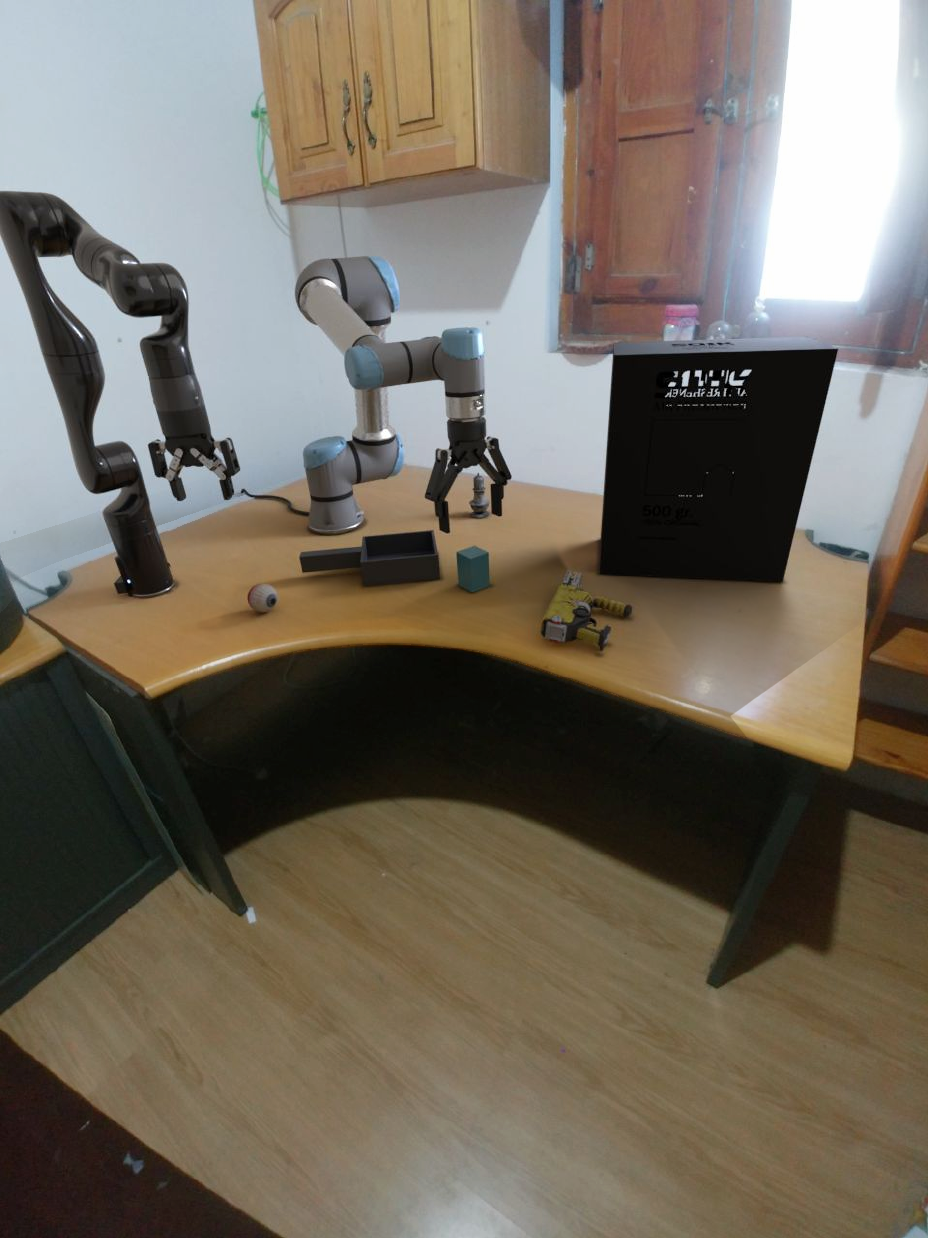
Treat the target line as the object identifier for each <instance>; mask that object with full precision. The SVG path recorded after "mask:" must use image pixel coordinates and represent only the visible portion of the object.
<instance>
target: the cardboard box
mask: <svg viewBox="0 0 928 1238" xmlns="http://www.w3.org/2000/svg"><path fill="white" fill-rule="evenodd" d="M612 347H613V348H612V363H611V375H610V376H611V377H610V393H609V407H608V423H607V437H606V452H605V469H604V482H603V495H602V497H603V498H602V514H601V525H600V526H601V527H600V545H599V570H598V571H599V575H612V576H632V577H633V576H634V577H635V576H637V577H659V578H679V579H680V578H682V579H701V580H702V579H703V580H729V581H754V582H772V583H773V582H774V583H775V582H776V583H783V582H784V579H785V574H786V570H787V567H788V563H789V557H790V553H791V549H792V545H793V541H794V537H795V536H794V535H795V532H796V527H797V524H798V519H799V515H800V511H801V506H802V503H803V500H804V499H803V498H804V495H805V490H806V486H807V483H808V477H809V474H810V469H811V466H812V465H811V464H812V460H813V456H814V453H815V448H816V444H817V439H818V436H819V431H820V428H821V423H822V419H823V415H824V411H825V406H826V403H827V398H828V394H829V391H830V386H831V382H832V377H833V373H834V370H835V364H836V360H837V357H838V353H839V348H838V347H835V346H832V345H830V344H827V343H825V342H822V341H819V340H816V339H815V338H811V337H809V336H805V335H804V336H780V337H779V336H775V337H774V336H773V337H749V338H748V337H747V338H745V337H744V338H743V337H742V338H721V339H720V338H717V339H716V338H715V339H689V340H688V339H687V340H684V339H683V340H656V341H655V340H653V341H625V342H624V341H623V342H621V341H620V342H613V346H612ZM696 371H697V372H701V373H700V376H699V375H696ZM745 371H750V372H749V373H748V374H747V375H742V374H743V372H745ZM676 372H677V375H676ZM686 372H689V373H688V381H687V385H683V382H684V381H683V380H684V376H683V375H684V374H685V373H686ZM711 372H712V373H711ZM732 373H733V378H732V381H733V382H739V381H742V382H741V385H740V384H739V385H736V384H735V385H732V384H731V383H730V378H731V374H732ZM711 374H712V375H711ZM700 382H702V385H700ZM713 382H718V385H712V384H713ZM671 383H675V385H674V386H673V385H671V386H670V384H671Z"/></svg>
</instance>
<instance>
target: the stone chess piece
mask: <svg viewBox="0 0 928 1238" xmlns="http://www.w3.org/2000/svg"><path fill="white" fill-rule="evenodd" d="M472 481H473V488H472V489H471V490H472V491H473V499H471V500H470V501H468V504H469V506H470V509H471V510H472V512H471V513H470V516H471V517H472V518H477V519H478V518H479V519H481V518H486V517H488V516H489V515H490V512H489V511H488V509H489V507H490V504H491V500H489V499H487V498H486V496H485V493H486V491H485V490H486V487H485V479H484V476H483V475H480V472H477V475H475V476H474V477H473V479H472Z"/></svg>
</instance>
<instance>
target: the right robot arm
mask: <svg viewBox="0 0 928 1238" xmlns="http://www.w3.org/2000/svg"><path fill="white" fill-rule="evenodd" d="M294 299H295V303H296V306H297V308H298V310H299V312H300V313H301V314H302V316H303V317H304V318H305V320H306V321H308V322H309V323H310V324H312V325H315V326H318V328H320V330H321V331H322V332H323V333H324V334H325V336H326V337H327V338H328V339H329V340H330V342H331V343H332V344H333V345H334V346H335V347H336V349H337V350H338V351H339V353H341V355H342V356H343V357H344V358H343V362H344V363H343V365H344V371H345V372H344V373H345V375H346V378H347V379H348V383H349V384H350V386H351V387H352V388H353V391H354V406H355V417H356V426H355V427H354V428H353V429H352V430H351V438H352V439H350V440H346V439H345V437H343V436H341V435H334V436H326V437H323V438H319V439H316V440H314V441H313V440H312V442H310V443H308V444H307V445H305V447H304V448H303V450H302V457H303V458H302V460H303V468H304V471H305V476H306V481H307V486H308V492H309V498H310V507H309V511H304V510H299V509H296V508H294V507H292V502H291V501H290V500H289V499H288V498H285V497H283V496H278V495H273V494H271V495H270V494H251V493H249V492H248V491H247V490H246V488H241V490H240V494H245V495H246V496H247V497H249V498H252V499H274V500H279V501H283V502H285V503H287V507H288V509H289V510H290V511H291V512H293V513H296V514H299V515H304V516H308V528H309V529H308V530H310V531H311V532H312V533H314V534H317V535H323V536H324V535H325V536H327V535H329V536H331V535H339V534H340V535H341V534H345V533H350V532H353V531H355V530H357V529H359V528H361V527H362V526H363V525H364V523H365V519H364V514H365V510H364V509H362V510H361V508H360V505H359V504H358V501H357V500H356V498H355V495H354V489H353V486H355V485H360V484H365V483H371V482H375V481H380V480H387V479H389V478H392V477H396V476H398V475H399V474H400V473H401V471H402V469H403V467H404V463H405V449H404V447H403V445H404V443H403V440H402V438H401V437H400V435H399V434H397V433H396V430H395V428H394V427H393V426H392V425H390V411H389V408H390V407H389V387H395V386H396V387H397V386H403V385H408V384H409V385H410V384H417V383H418V384H419V383H425V382H432V381H441V382H443V385H444V398H445V399H444V400H445V416H446V417H447V418H448V419H447V421H446V431H447V439H448V442H449V446H448V448H445V449H443V448H439V447H438V448H436V449H435V452H434V454H435V455H434V459H435V460H434V464H433V467H432V470H431V473H430V477H429V480H428V483H427V486H426V489H425V493H424V498H425V499H426V500H428V501H431V502H433V506H434V515H435V517H437V518H438V527H439V531H440V532H442V533H445V534H450V533H451V525H450V512H449V510H450V509H449V501H448V500H446V498H447V496H448V494H449V493H450V491H451V489H452V487H453V485H454V483H455V482H456V479H457V477H458V476H459V474H460V473H462V472H463V470H464V469H469V468H471V467H476V466H477V467H478V465H479V467H480V468H481V470H483V471H484V472H485V474H486V475H487V476H488V477H489V478H490V479H491V480H492V481H493V483H490V508H491V509H490V510H491V512H490V513H491V515H493V516H496V517H499V518H500V517H502V516H503V500H504V498H505V487H506V486H507V485H508V481H511V480H512V478H513V477H512V473H511V471H510V469H509V466H508V464H507V462H506V460H505V457H504V456H503V454H502V451H501V449H500V441H499V438H497V437H494V436H487V419H486V418H485V417H484V416H485V415H486V391H485V389H486V384H485V383H486V381H485V380H486V379H485V378H486V377H485V375H486V374H485V348H484V340H483V339H484V338H483V337H484V336H483V332H482V330H481V329H480V328H478V327H473V326H472V327H467V326H465V327H452V328H447V329H444V330H443V331H442V333H441V337H439V336H435V335H434V336H424V337H422V338H420V339H413V340H405V341H404V340H403V341H392V342H387V341H386V339H387V338H386V331H387V328H388V327H389V326H390V325H391V323H392V314H393V313H396V312H397V311H398V310H399V308H400V306H399V305H400V302H401V295H400V287H399V283H398V279H397V276H396V273H395V272H394V269H393V267H392V265H391V264H390V263H389V261H388V260H387V259H385V258H384V257H381V256H369V255H365V256H363V255H362V256H350V257H335V258H330V257H328V258H320V259H318V260H314V261H312V262H311V263H309V264H308V265H307V266H306V267H305V268H303V269H302V271H301V272H300V274H299V275H298V277H297V279H296V282H295V287H294ZM486 450H487V451H488V454H489V456H490V458H491V460H492V463H493V464H494V465H493V464H492V463H491V461H490V459H489V458H488V457H487V456H486V454H485V452H486Z"/></svg>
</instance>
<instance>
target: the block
mask: <svg viewBox="0 0 928 1238" xmlns="http://www.w3.org/2000/svg"><path fill="white" fill-rule="evenodd" d="M455 554H456V570H457V584H458V586H459V587H461V588H463V589H464V590H466V591H468V592H469V593H471V594H472V593H476V592H477V591H480V590H483V589H485V588H488V587H490V586H491V578H490V577H491V576H490V575H491V574H490V552H489V551H487V550H485V549H482V548H480V547H479V546H476V545H473V546H470V547H468V548H467V547H466V548H464V549H461V550H458V551H456V553H455Z"/></svg>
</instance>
